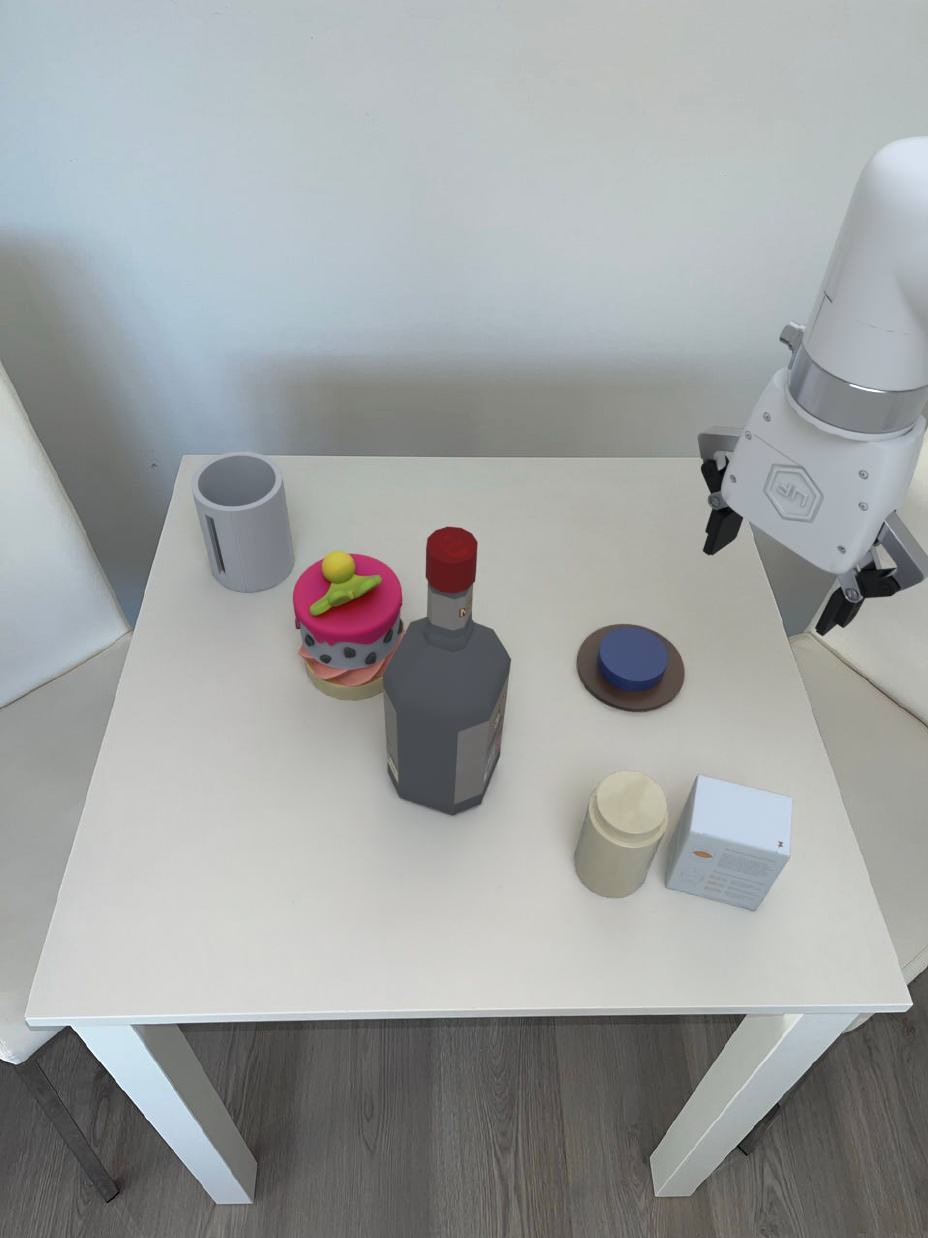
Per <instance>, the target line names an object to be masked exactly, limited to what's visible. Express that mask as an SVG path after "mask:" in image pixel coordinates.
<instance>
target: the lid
mask: <svg viewBox="0 0 928 1238" xmlns="http://www.w3.org/2000/svg"><path fill="white" fill-rule="evenodd" d="M667 663H668V653H667V650H666V647H665V646H664V644H663V643H662V641H661V640H660V639H659V638H657V637H656V636H655V635H653V634H652V633H650V632H648V631H646V630H643V629H640V628H634V627H624V628H619V629H616V630H613V631H611V632H610V633H608V634H607V635H606V636H605V637H604V638H603V640H602V642H601V644H600V648H599V653H598V657H597V665H598V668H599V671H600V673H601V674H602V676H603V677H604V678H605V679H606V680H607V681H608V682H609V683H611V684H612V685H614V686H615V687H618V688H620V689H623V690H627V691H644V690H648V689H650V688H652V687H654V686H656V685H657V684H658V683H659V682H660V681H661V680H662V678H663V676H664V673H665V669H666V666H667Z"/></svg>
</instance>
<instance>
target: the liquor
mask: <svg viewBox="0 0 928 1238" xmlns="http://www.w3.org/2000/svg"><path fill="white" fill-rule="evenodd" d="M426 540H427V541H426V544H425V578H426V581H427V597H426V598H427V600H426V605H427V606H426V616H425V617H422V618H418V619H416V620H413V621H410V623H409V624H408V626H407V628H406V629H405V631H404V636H403V638H402V640H401V641H400V643H399V645H398V647H397V649H396V651H395V653H394V655H393V657H392V659H391V660H390V662H389V664H388V666H387V668H386V670H385V672H384V674H383V688H384V691H383V705H384V708H383V709H384V726H385V740H386V742H385V745H386V763H387V764H386V765H387V774H388V776H389V778H390V780H391V783H392V784H393V786H394V789H395V791H396V793H397V796H398V797H399V798H401V799H404V800H407V801H410V802H412V803H415V804H418V805H421V806H425V807H427V808H430V809H433V810H435V811H439V812H441V813H445V814H448V815H450V816H455V815H458V814H460V813H462V812H465V811H468V810H470V809H472V808H475V807H478V806H481V805H482V803H483V800H484V797H485V795H486V792H487V790H488V787H489V785H490V782H491V780H492V777H493V775H494V772H495V770H496V767H497V764H498V762H499V760H500V757H501V755H500V754H501V749H502V748H501V747H502V739H503V731H504V723H505V713H506V705H507V699H508V690H509V680H510V674H511V664H512V658H511V657H510V654H509V653H508V650H507V649H506V647H505V646H504V644H503V643H502V641H501V639H500V637H499V636H498V635H497V633H496V631H495V630H494V628H490V627H488V626H485V625H484V624H480V623H478V622H475V621H474V620H473V598H474V597H473V596H474V583H476V577H477V565H478V564H477V562H478V544H479V542H478V540H477V539H476V537H475V535H474V534H473V533H472V532H470V531H468V530H467V529H464V528H463V527H456V526H444V527H442V528H438V529H435V530H434V531H433V532H432V533H431V534H430V535H429V536H428V537H427V538H426Z"/></svg>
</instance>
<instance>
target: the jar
mask: <svg viewBox="0 0 928 1238" xmlns="http://www.w3.org/2000/svg"><path fill="white" fill-rule="evenodd" d="M667 802H668V800H667V797H666V795H665V792H664V790H663V789H662V787H661V786H660V785H659V784H658V783H657V782H656V781H655V780H654V779H653V778H651V777H650V776H648V775H646V774H644V773H641V772H639V771H633V770H621V771H614V772H613V773H611V774H609V775H606V776H605V777H603V779H602V780H600V782H599V783H598V785H597V786H596V787H595V789H594V790H593V791H592V793H591V795H590V798H589V799H588V804H587V808H586V813H585V815H584V819H583V822H582V826H581V830H580V834H579V837H578V841H577V845H576V848H575V852H574V857H573V863H574V868H575V869H574V870H575V872H576V875H577V876H578V878H579V880H580V881H581V883H582V884H583V885H584V886H585V888H587V889H588V890H589V891H591V892H592V893H594V894H596V895H598V896H600V897H604V898H607V899H621V898H625V897H628V896H631V895H632V894H634V893H636V892H637V891H638V890H639V889H640V888H641V887H642V885H643V884H644V883H645V880H646V878H647V875H648V873H649V871H650V868H651V866H652V864H653V861H654V859H655V856H656V854H657V851H658V848H659V846H660V845H661V842H662V840H663V837H664V836H665V835H664V834H665V832H666V829H667V827H668V823H669V811H668V803H667Z"/></svg>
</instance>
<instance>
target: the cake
mask: <svg viewBox="0 0 928 1238" xmlns="http://www.w3.org/2000/svg"><path fill="white" fill-rule="evenodd" d="M292 603H293V610H294V617H295V618H294V625H295V629H296V630H299V631H300V637H301V642H302V645H301V646H300V648H299V649H298V653H297V655H298V656H300V657H301V658H303V659H304V663H305V669H306V674H307V677H308V678H309V680H310V682H311V683H312V685H313V686H314V687H315V688H316V689H317V690H319V691H320V692H322V693H323V694H325V696H329V697H330V698H335V699H338V700H344V701H359V700H364V699H369V698H372V697H374V696H376V695H379V694H381V693H384V688H383V674H384V672H385V670H386V668H387V666H388V664H389V662H390V660H391V659H392V657H393V655H394V653H395V651H396V649H397V647H398V645H399V643H400V641H401V640H402V638H403V636H404V634H405V623H404V621H403V619H402V617H401V610H402V607H403V588H402V585H401V582H400V579H399V577H398V576H397V574H396V573H395V571H394V570H393V569H392V568H391V567H390V566H388V565H387V564H386V563H384V562H383V561H381V560H379V559H378V558H375V557H372V556H370V555H365V554H361V553H348V552H346V551H344V550H333V551H330V552H329V553H327V554H326V555H325V556H324V557H323V558H321V559H320V560H317V561H316V562H314V563H312V564H311V565H310V566H309V567H307V568H306V569H305V570H304V571H303V572H302V574H301V575H300V576H299V577H298V579H297V581H296V582H295V585H294V588H293V591H292Z"/></svg>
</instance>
